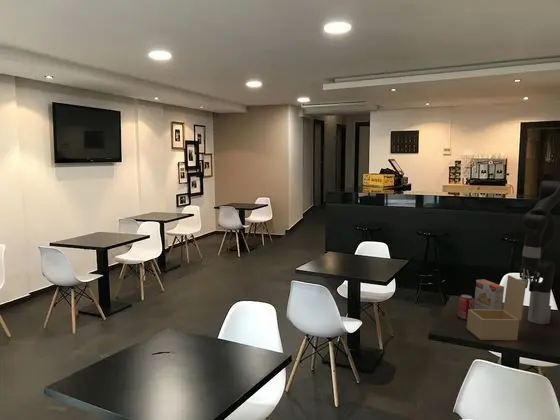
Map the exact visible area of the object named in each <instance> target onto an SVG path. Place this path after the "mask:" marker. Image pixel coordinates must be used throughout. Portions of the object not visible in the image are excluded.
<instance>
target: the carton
mask: <svg viewBox="0 0 560 420" xmlns="http://www.w3.org/2000/svg"><path fill="white" fill-rule="evenodd" d="M466 320H467V321H466V330H468V331H469V332H470V333H472V334H473V335H474V336H475V337H476V338H478V339H479V340H480V341H518V338H519V336H518V334H519V325H520V320H518V319H517V318H515V317H514V316H512V315H511V314H509V313H507V312H506V311H504V310H503V309H502V310H480V309H474V308H473V309H468V319H466Z"/></svg>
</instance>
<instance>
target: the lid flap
mask: <svg viewBox="0 0 560 420" xmlns="http://www.w3.org/2000/svg"><path fill="white" fill-rule="evenodd" d="M529 282H530V281H529V279H528V280H527V279H522V278H516V277H513V276H511V275H510V274H509V275H507V280H506V287H505V295H504V300H503V307H502V310H504V311H506V312H507V313H509V314H510V315H512V316H514V317H515V318H517V319H518V320H519V321H522V314H523V308H524V301H525V296H526V289H527V288H526V286H527V287H529Z"/></svg>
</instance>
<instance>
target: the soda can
mask: <svg viewBox="0 0 560 420" xmlns="http://www.w3.org/2000/svg"><path fill="white" fill-rule="evenodd" d="M457 307H458V308H457V309H458V310H457V315H458V317H459V318H460V319H461V320H467V319H468V309H474V299H473V296H472V295H469V294H461V295H460V297H459V301H458V306H457Z"/></svg>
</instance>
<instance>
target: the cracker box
mask: <svg viewBox="0 0 560 420" xmlns="http://www.w3.org/2000/svg"><path fill="white" fill-rule="evenodd" d="M475 281H476V282H475V290H474V292H475V293H474V301H473V309H480V310H503V306H504V293H505V286H503V285H501V284H497V283H495V282H492V281H490V280H487V279H483V278H482V279H476V280H475Z"/></svg>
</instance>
